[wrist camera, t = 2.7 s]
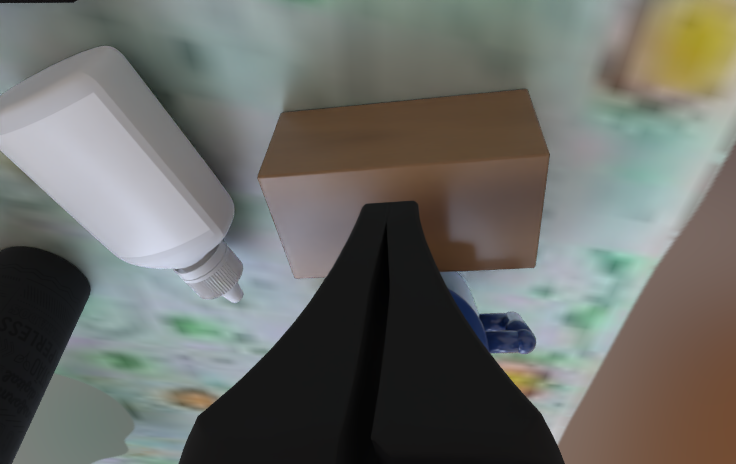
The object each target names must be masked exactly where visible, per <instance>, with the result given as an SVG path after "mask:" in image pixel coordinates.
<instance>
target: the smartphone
mask: <svg viewBox="0 0 736 464" xmlns="http://www.w3.org/2000/svg"><path fill="white" fill-rule="evenodd" d="M75 1H77V0H0V3H74V2H75Z"/></svg>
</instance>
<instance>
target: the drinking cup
mask: <svg viewBox="0 0 736 464" xmlns="http://www.w3.org/2000/svg"><path fill="white" fill-rule="evenodd" d="M89 295H90V286H89V283H88V281H87V279H86V278H85V277H84V275H83V274H82V273H81V272H80V271H79V270H78V269H77V268H75V267H74V266H73V265H71V264H70V263H69V262H67V261H65V260H64V259H62V258H60V257H58V256H56V255H53V254H51V253H48V252H46V251H42V250H39V249H35V248H29V247H11V248H7V249H4V250H2V251H0V464H12V462H13V460H14V458H15V456H16V454H17V451H18V449H19V447H20V445H21V443H22V441H23V439H24V436H25V434H26V432H27V430H28V428H29V426H30V423H31V421H32V419H33V417H34V415H35V413H36V410H37V408H38V406H39V404H40V402H41V400H42V397H43V395H44V393H45V391H46V388H47V386H48V384H49V382H50V380H51V378H52V376H53V374H54V371H55V369H56V367H57V365H58V363H59V361H60V358H61V356H62V354H63V352H64V350H65V348H66V345H67V343H68V341H69V339H70V337H71V335H72V332H73V330H74V328H75V326H76V324H77V322H78V319H79V317H80V315H81V313H82V311H83V309H84V306H85V304H86V302H87V300H88V298H89Z"/></svg>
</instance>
